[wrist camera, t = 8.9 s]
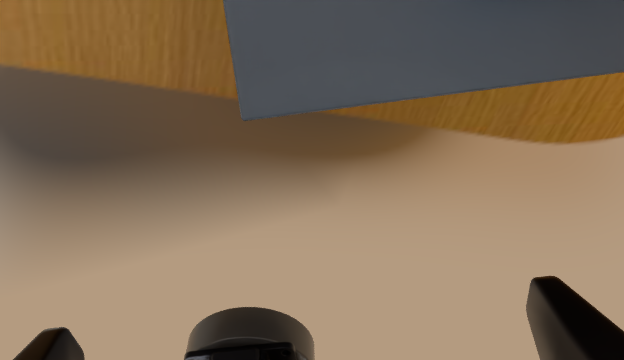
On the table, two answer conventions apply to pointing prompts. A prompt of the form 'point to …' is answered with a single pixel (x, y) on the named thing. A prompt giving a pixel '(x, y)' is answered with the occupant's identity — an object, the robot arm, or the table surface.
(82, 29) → the table surface
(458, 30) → the lid
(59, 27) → the table surface
